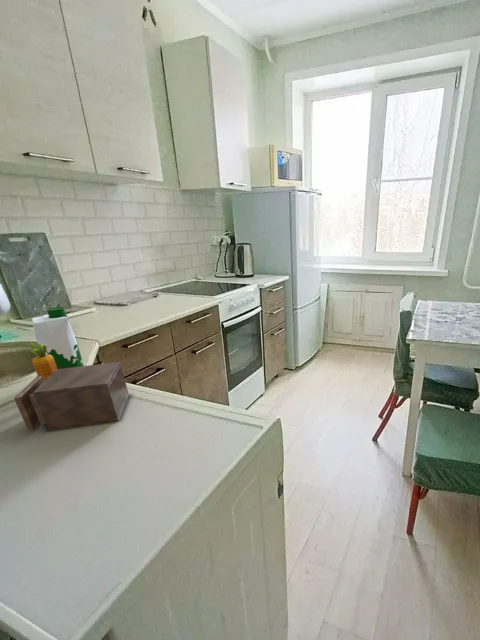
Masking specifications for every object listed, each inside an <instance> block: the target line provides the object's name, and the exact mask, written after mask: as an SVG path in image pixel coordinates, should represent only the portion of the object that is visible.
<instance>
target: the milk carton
mask: <svg viewBox="0 0 480 640" xmlns="http://www.w3.org/2000/svg"><path fill="white" fill-rule="evenodd" d="M46 312H47V314H44V315H41V316H37V317H36V316H35V317H31V322H32V326H33V327H32V328H33V331H34V336H35V340H36V342H37V343H36V344H37V345H38V344H42V346H43V345H44V344H45V345H46V349H45V355H51V356H53V358H54V360H55V363H56V366H57V369H64V368H72V367H81V366H84V363H83V357H82V355H81V352H80V351H81V350H80V348H79V345H78V343H77V339H76V336H75V333H74V331H73V328H72V326H71V324H70V323H71V322H70V321H69V317H68V315H67V313H66V311H65V308H64V307H63V306H56V307H55V306H54V307H51V308H50V307H49V308H48V309H46ZM39 350H40V351H41V349H40V348H39ZM41 353H42V352H41Z"/></svg>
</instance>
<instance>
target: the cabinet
mask: <svg viewBox="0 0 480 640" xmlns="http://www.w3.org/2000/svg"><path fill="white" fill-rule="evenodd" d="M33 394H34V396H35V399H36V401H37V404H38V406H39V408H40V411H41V413H42V416H43V418H44V420H45V423H46V424H45V425H46V428H47V430H48V431H49V432H51V431H58V430H64V429H65V430H66V429H73V428H79V427H86V426H92V425H93V426H94V425H100V424H108V423H114V422H119V421H120V419H121V416H122V414H123V412H124V409H125V407H126V405H127V403H128V400H129V398H130V394H129V390H128V386H127V383H126V378H125V375H124V372H123V369H122V364H121V362H120V361H116V362H108V363H99V364H91V365H83V366H81V367H72V368H64V369H56V370H55V371H54V372H53V373H52V374H51V375H50V376H49V377H48V378H47V379H46V380H45V381H44V382H43V383H42V384H41V385H40V386H39V387H38V388H37V389H36V390H35V391H34V392H33Z"/></svg>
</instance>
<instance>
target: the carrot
mask: <svg viewBox="0 0 480 640" xmlns="http://www.w3.org/2000/svg"><path fill="white" fill-rule="evenodd" d="M28 345H29V347H31V348H32V350H31V351H30V353H32V354H34V355H36V356H35V357H33V358H32V362H31V363H32V367H33V368H34V371H35V373H36V375H37V376H43V379H44V381H45V380H46V378H47V377H49V376H50V375H51V374H52V373H53V372H54V371H55V370H56V369H57V366H56V363H55V360H54V358H53V356H51V355H45V349H46V345H45V344H44V345H43V346H42V344H38V343H37V345H36V344H35V343H34V342H30V343H29V344H28ZM40 349H41V351H40ZM41 352H42V353H41Z"/></svg>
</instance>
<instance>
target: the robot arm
mask: <svg viewBox="0 0 480 640" xmlns="http://www.w3.org/2000/svg"><path fill="white" fill-rule="evenodd" d="M10 309H11V302H10V301H9V298H8V296H7V293H6V291H5V290H4V288H3V286H2V284H1V283H0V317H1V316H4V315H6V314H7V313H9V312H10Z"/></svg>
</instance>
